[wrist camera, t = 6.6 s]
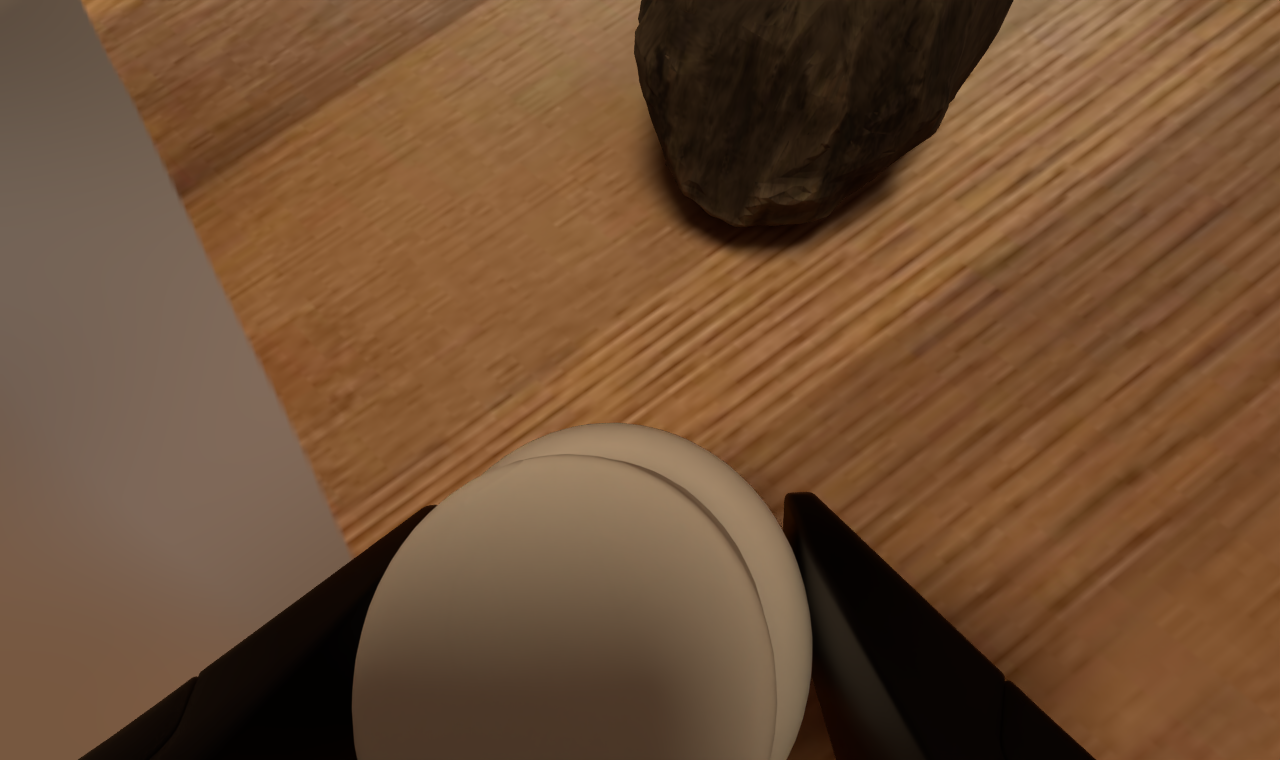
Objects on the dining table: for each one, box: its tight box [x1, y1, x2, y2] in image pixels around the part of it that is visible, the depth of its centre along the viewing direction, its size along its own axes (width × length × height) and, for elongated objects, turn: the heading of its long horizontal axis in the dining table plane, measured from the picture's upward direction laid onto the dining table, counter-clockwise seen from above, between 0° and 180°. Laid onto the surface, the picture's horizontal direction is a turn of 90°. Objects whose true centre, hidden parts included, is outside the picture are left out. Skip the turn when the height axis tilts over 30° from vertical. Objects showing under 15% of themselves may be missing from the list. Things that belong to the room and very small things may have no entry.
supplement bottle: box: [352, 423, 813, 760], centre depth 9 cm, size 6×6×10 cm
